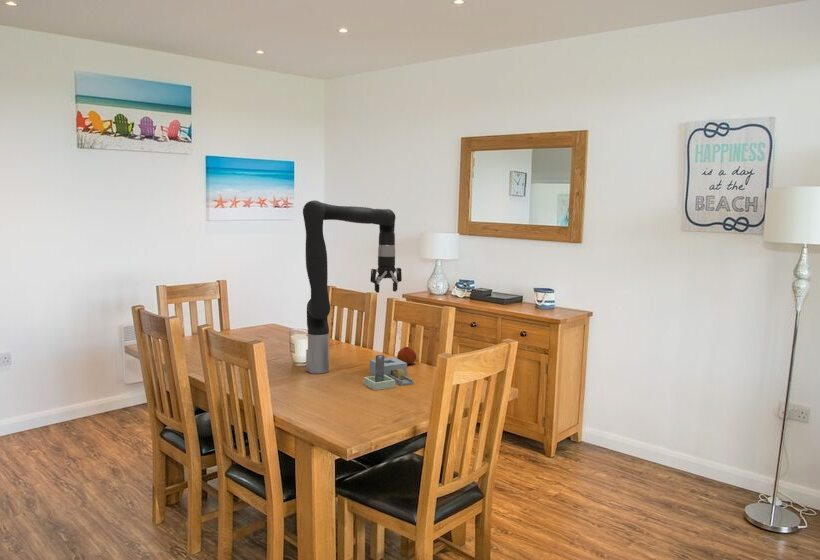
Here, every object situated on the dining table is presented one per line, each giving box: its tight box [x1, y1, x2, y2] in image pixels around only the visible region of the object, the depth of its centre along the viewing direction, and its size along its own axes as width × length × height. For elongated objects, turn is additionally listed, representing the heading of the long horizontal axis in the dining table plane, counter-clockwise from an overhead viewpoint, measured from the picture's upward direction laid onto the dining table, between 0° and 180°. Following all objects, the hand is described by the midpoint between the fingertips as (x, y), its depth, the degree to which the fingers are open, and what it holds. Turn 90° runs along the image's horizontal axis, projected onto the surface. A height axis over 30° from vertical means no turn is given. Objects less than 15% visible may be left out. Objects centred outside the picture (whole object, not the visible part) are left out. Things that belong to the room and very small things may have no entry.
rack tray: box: [363, 375, 396, 391], centre depth 267 cm, size 10×10×3 cm
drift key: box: [391, 369, 404, 379], centre depth 277 cm, size 9×3×4 cm, turn 30°
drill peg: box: [375, 354, 385, 382], centre depth 266 cm, size 4×4×12 cm
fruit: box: [396, 346, 417, 365], centre depth 302 cm, size 9×9×8 cm
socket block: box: [369, 356, 415, 387], centre depth 278 cm, size 23×12×6 cm, turn 30°
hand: (386, 291), depth 284 cm, fingers open, 8 cm apart
